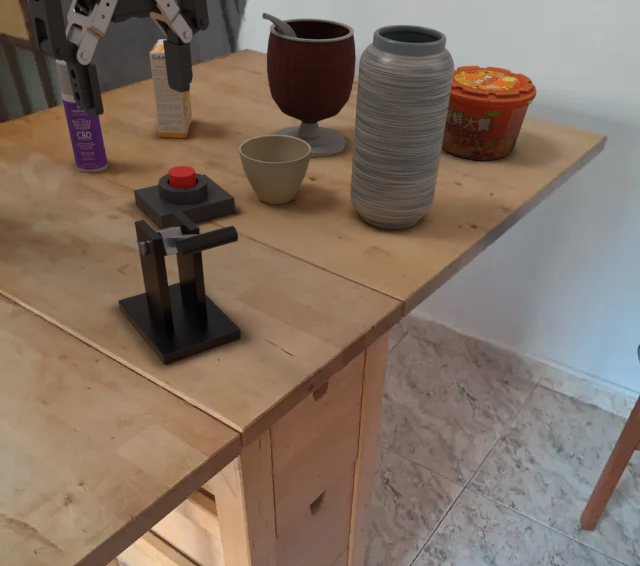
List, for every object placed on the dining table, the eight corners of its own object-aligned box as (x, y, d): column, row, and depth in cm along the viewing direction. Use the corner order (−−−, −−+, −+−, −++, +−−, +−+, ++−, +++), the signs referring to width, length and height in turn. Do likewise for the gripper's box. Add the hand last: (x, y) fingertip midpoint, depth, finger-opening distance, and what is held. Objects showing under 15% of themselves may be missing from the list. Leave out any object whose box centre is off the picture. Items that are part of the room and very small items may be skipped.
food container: (438, 123, 125) (448, 59, 117) (527, 137, 121) (543, 72, 114) (418, 155, 114) (428, 85, 106) (515, 171, 110) (532, 101, 103)
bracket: (241, 338, 75) (236, 239, 66) (164, 365, 71) (149, 263, 63) (191, 287, 82) (181, 192, 74) (119, 309, 78) (100, 211, 70)
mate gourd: (319, 122, 123) (324, -7, 109) (366, 149, 115) (377, 12, 101) (244, 138, 116) (239, 2, 103) (288, 167, 108) (289, 24, 94)
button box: (163, 231, 91) (159, 202, 89) (135, 205, 97) (131, 177, 94) (235, 212, 96) (234, 185, 93) (205, 188, 101) (203, 161, 99)
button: (176, 191, 92) (175, 178, 91) (165, 181, 94) (163, 168, 93) (200, 185, 94) (199, 173, 92) (189, 176, 96) (187, 163, 95)
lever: (241, 246, 62) (234, 219, 61) (185, 262, 60) (178, 234, 59) (191, 246, 72) (185, 223, 71) (142, 259, 70) (135, 236, 69)
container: (83, 175, 103) (61, 67, 93) (71, 164, 106) (49, 58, 96) (113, 168, 105) (94, 62, 95) (100, 158, 108) (81, 53, 98)
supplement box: (187, 139, 115) (179, 53, 106) (158, 137, 115) (148, 52, 106) (193, 121, 121) (186, 38, 112) (166, 120, 121) (157, 37, 112)
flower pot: (259, 177, 105) (257, 129, 100) (319, 190, 102) (321, 141, 98) (229, 204, 98) (226, 154, 93) (293, 218, 96) (294, 167, 91)
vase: (344, 230, 94) (357, 43, 78) (353, 193, 102) (366, 18, 86) (429, 238, 93) (459, 51, 77) (431, 201, 101) (458, 25, 85)
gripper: (154, -159, 52) (179, 74, 63) (-29, -156, 44) (36, 109, 55) (218, -153, 48) (232, 94, 59) (30, -148, 40) (87, 134, 51)
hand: (137, 101), depth 57 cm, fingers open, 8 cm apart
